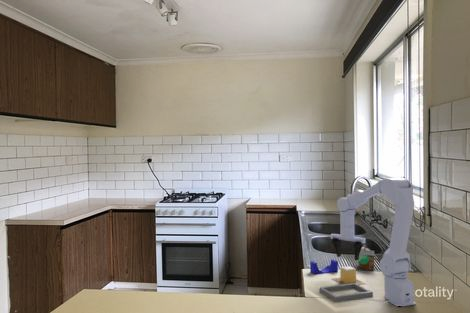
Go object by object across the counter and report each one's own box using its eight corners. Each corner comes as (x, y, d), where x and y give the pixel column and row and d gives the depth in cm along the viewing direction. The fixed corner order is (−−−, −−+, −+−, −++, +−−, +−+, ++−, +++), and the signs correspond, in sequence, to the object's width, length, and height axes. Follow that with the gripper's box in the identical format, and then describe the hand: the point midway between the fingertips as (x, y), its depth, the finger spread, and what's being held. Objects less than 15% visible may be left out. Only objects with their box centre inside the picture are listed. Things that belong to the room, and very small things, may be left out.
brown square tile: (366, 286, 135) (366, 284, 135) (345, 289, 132) (345, 286, 132) (350, 278, 145) (350, 276, 145) (330, 281, 142) (330, 278, 142)
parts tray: (372, 298, 123) (372, 292, 123) (335, 304, 118) (335, 297, 118) (354, 289, 132) (354, 282, 132) (319, 294, 127) (319, 287, 127)
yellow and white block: (356, 282, 138) (356, 268, 138) (345, 283, 136) (345, 269, 136) (350, 279, 141) (350, 266, 141) (340, 280, 139) (340, 267, 139)
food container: (352, 265, 165) (352, 244, 165) (365, 265, 164) (365, 244, 165) (361, 273, 152) (361, 250, 153) (374, 273, 152) (374, 251, 152)
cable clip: (332, 271, 155) (332, 258, 155) (337, 274, 151) (337, 261, 151) (308, 273, 152) (308, 260, 152) (313, 277, 147) (313, 263, 148)
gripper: (367, 226, 141) (368, 259, 141) (335, 222, 151) (335, 253, 150) (361, 228, 136) (362, 262, 135) (328, 224, 145) (328, 256, 145)
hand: (347, 258), depth 142 cm, fingers open, 7 cm apart
